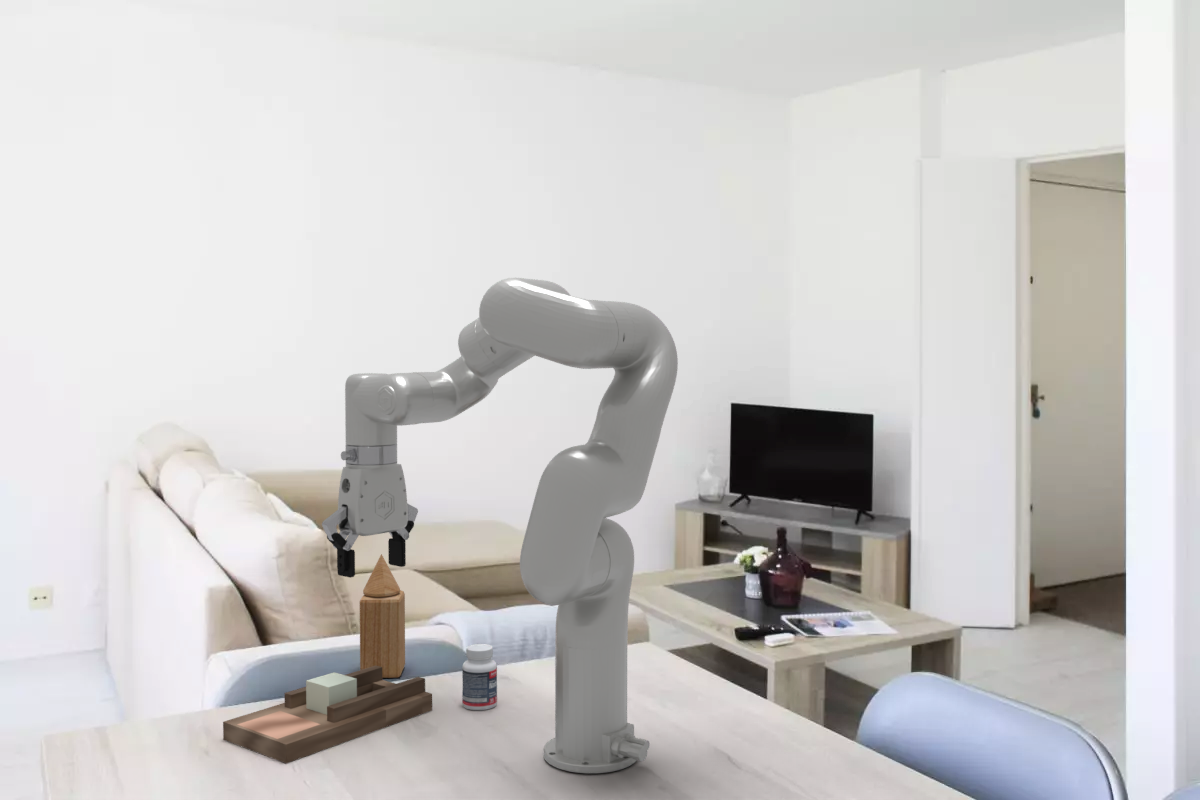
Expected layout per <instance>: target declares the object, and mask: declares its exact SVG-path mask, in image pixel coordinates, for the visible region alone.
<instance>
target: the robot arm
mask: <svg viewBox="0 0 1200 800" xmlns="http://www.w3.org/2000/svg"><path fill="white" fill-rule="evenodd" d="M478 311H479V312H478V316H479V317H478V318H477V319H475V320H473V321H471V322H469V324H467V325H466V326H464V327H463V328H462V329H461V330H460V332H459V334H458V340H457V347H458V349H459V350H458V351H459V353H460V355H461V356H459V357H458V358H456V359H455V360H454V361H452V362H450V363H449V364H448V365H447V364H446V366H444V367H442V368H441V369H439V370H437V371H418V372H417V371H415V372H413V371H412V372H398V373H397V372H396V373H378V372H377V373H373V372H371V373H370V372H367V373H366V372H365V373H353V374H351V375H349V376H348V377H347V378H346V380H345V384H344V386H345V387H344V388H345V389H344V393H345V394H344V395H345V396H344V398H345V399H344V401H345V403H344V404H345V406H344V407H345V408H344V410H345V419H344V420H345V421H344V422H345V423H344V424H345V450H343V451H341V453H340V459H341V460H342V461H345V466H342V470H341V475H340V481H339V490H338V499H337V501H338V502H337V510H335V511H334V512H333V513H332V514H331V515H329V516H328V517H327V518H325V519H324V520H323V521H322V523H321V526H322V528H323V530H324V534H325V535H326V539H327V540H328V541H329V542H330V543H331V545H332V547H333V549H336V568H337V575H338V576H341V577H346V578H351V579H352V578H354V577H355V575H356V551H355V549H352V548H353V545H354V544H355V542H356V541H357V539H358V538H359V536H360V537H368V536H369V537H370V536H374V535H380V534H387V533H388V534H389V535H390V537H391V538H388V541H387V542H388V545H387V546H388V550H387V552H388V556H387V557H388V564H389V565H390V566H394V567H399V568H403V567H405V566H406V561H407V560H406V558H407V557H406V553H407V551H406V550H407V549H406V545H407V544H406V541H407V540H409V538H410V533H411V531H413V528H414V527H415V521H416V518H417V517H418V516H417V515H418V512H419V510H418V508H417V507H415V506H413V505H412V504H409V503H408V499H407V498H408V495H407V485H406V480H405V474H404V473H405V472H404V471H403V467H402V464H401V463H398V426H401V427H402V426H411V425H413V426H414V425H419V424H431V423H432V424H433V423H441V422H445V421H448V420H451V419H453V418H455V417H457V416H458V415H461V414H463V413H465V411H467V410H468V409H471V408H472V407H474V406H475V405H477V404H478V403H480V402H482V401H483V400H484V399H485V398H487V397H488V395H490V394H491V393H492V391H493V390H494V388H495V387H496V385H497V384H498V382H499V379H500V378H502V377H503V376H505V375H507V374H509V372H511V371H512V370H514V369H516V368H518V367H519V366H520V365H522V364H524V363H526V362H527V361H528V360H530V359H532V358H533V357H535V356H536V357H539V358H540V359H541V358H542V359H544V360H547V361H550V362H554V363H557V364H560V365H562V366H567V367H571V368H576V369H581V370H582V369H585V370H587V369H588V370H591V369H592V370H593V369H597V370H598V369H613V370H614V376H613V379H612V380H611V382H610V384H609V385H608V387H607V389H606V390H605V392H604V393H603V396H602V399H600V400H601V401H600V402H599V405H598V409H597V413H596V417H595V421H594V424H593V427H592V431H591V433H590V436H589V438H588V440H587V442H586V443H585V444H580V445H576V446H574V445H573V446H570V447H568V448H565V449H563V450H561V451H560V452H558V453H557V454H556V455H554V457H553V458H552V459H551V460H550V461H549V462H548V464H547V465H546V467H545V468H544V470H543V472H542V474H541V476H540V479H539V482H538V485H537V488H536V492H535V496H534V499H533V502H532V507H531V511H530V514H529V518H528V522H527V525H526V530H525V534H524V537H523V542H522V546H521V549H520V556H519V573H520V577H521V580H522V581H521V582H522V583H523V585H524V587H525V589H526V591H527V592H528V594H529V595H530V596H532V598H534V599H535V600H536V601H538V602H541V603H543V604H544V605H545V604H546V605H551V606H552V605H554V606H556V605H557V610H556V611H557V612H556V617H555V632H554V633H555V640H554V641H555V643H554V646H555V647H554V648H555V651H554V654H555V655H554V656H555V658H554V659H555V660H554V666H555V667H554V669H555V670H554V671H555V673H554V675H555V676H554V678H555V680H554V683H555V687H554V688H555V692H554V693H555V694H554V696H555V697H554V701H555V702H554V703H555V704H554V706H555V707H554V709H555V710H554V712H555V713H554V715H555V716H554V717H555V718H554V724H555V725H554V726H555V727H554V728H555V729H554V731H555V732H554V733H555V734H554V735H555V737H553V738H550V740H549V741H548V740H547V742H546V743H545V744H544V746H543V758H544V760H545V762H546V763H548V764H549V765H550V766H552V767H553V768H556V769H559V770H562V771H566V772H571V773H576V774H605V773H612V772H616V771H621V770H623V769H626V768H628V767H630V766H632V765H633V764H635V763H636V762H637V761H638V762H644V761H645V760H646V758H647V756H648V750H649V749H650V745H651V744H650V741H649V740H647V739H643V738H638V737H636V735H635V724H634V723H629V722H628V642H629V641H628V639H629V638H628V637H629V635H628V633H629V624H628V623H629V606H630V605H629V604H630V594H631V587H632V581H633V575H634V569H635V551H634V550H635V549H634V546H633V545H634V544H633V543H632V539H631V537H630V535H629V534H628V531H626V529H625V528H624V527H623V526H622V525H621V524H619V523H618V522H616V521H615V520H612V519H609V518H610V517H614V516H617V515H621V514H623V513H626V512H627V511H630V510H632V509H633V508H635V507H636V506H637V505H638V503H640V501H641V499H642V497H643V495H644V492H645V490H646V487H647V483H648V478H649V475H650V471H651V468H652V464H653V462H654V459H655V458H654V457H655V454H656V451H657V447H658V444H659V440H660V436H661V432H662V427H663V424H664V421H665V418H666V414H667V412H668V408H669V405H670V403H671V398H672V395H673V393H674V388H675V385H676V382H677V381H676V380H677V375H678V370H679V369H678V366H679V364H678V363H679V361H678V360H679V359H678V351H677V347H676V343H675V341H674V338H673V336H672V334H671V332H670V330H669V328H667V326H666V325H665V323H664V322H663V321H662V319H660V317H658V316H657V315H656V314H655V313H653V312H652V311H651V310H649V309H647V308H645V307H644V306H641V305H638V304H635V303H630V302H625V301H617V300H616V301H613V300H612V301H610V300H596V299H586V298H582V297H577V296H573V295H571V294H570V293H569V292H568V290H566V289H565V288H564V287H563V286H562V285H560V284H557V283H555V282H553V281H549V280H543V279H533V278H522V277H508V278H504V279H501V280H499V281H497V282H495V283H494V284H492V285H491V286H490V287H489V288H488V289H487V290H486V292H485V293H484V295H483V296H482V299H481V300H480V303H479V308H478ZM337 526H338V529H339V532H338V529H337Z"/></svg>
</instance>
